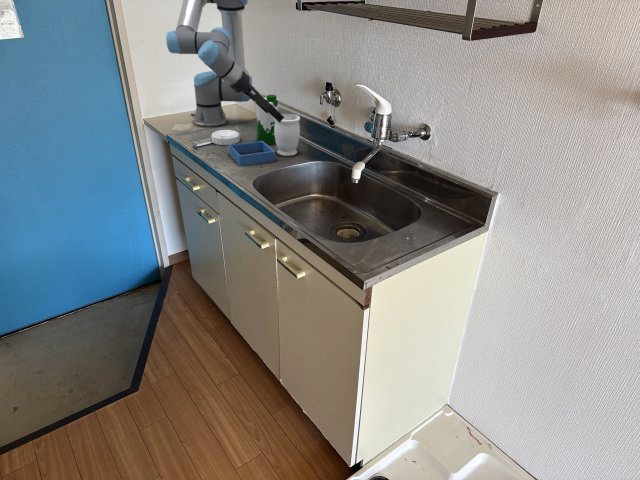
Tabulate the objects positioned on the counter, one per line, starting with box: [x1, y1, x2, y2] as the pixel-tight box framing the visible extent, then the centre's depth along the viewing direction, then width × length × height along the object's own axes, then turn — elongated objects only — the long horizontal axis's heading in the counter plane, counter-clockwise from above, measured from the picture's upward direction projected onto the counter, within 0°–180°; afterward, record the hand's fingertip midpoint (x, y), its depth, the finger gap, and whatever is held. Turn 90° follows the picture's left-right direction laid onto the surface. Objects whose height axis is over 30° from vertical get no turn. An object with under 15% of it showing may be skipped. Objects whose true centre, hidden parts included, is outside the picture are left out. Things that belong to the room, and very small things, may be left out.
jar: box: [274, 113, 301, 157], centre depth 192 cm, size 11×10×15 cm
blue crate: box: [228, 141, 276, 167], centre depth 189 cm, size 14×15×4 cm
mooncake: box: [210, 129, 241, 146], centre depth 205 cm, size 12×12×4 cm
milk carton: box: [254, 94, 280, 146], centre depth 203 cm, size 9×9×20 cm
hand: (275, 115), depth 186 cm, fingers open, 13 cm apart
